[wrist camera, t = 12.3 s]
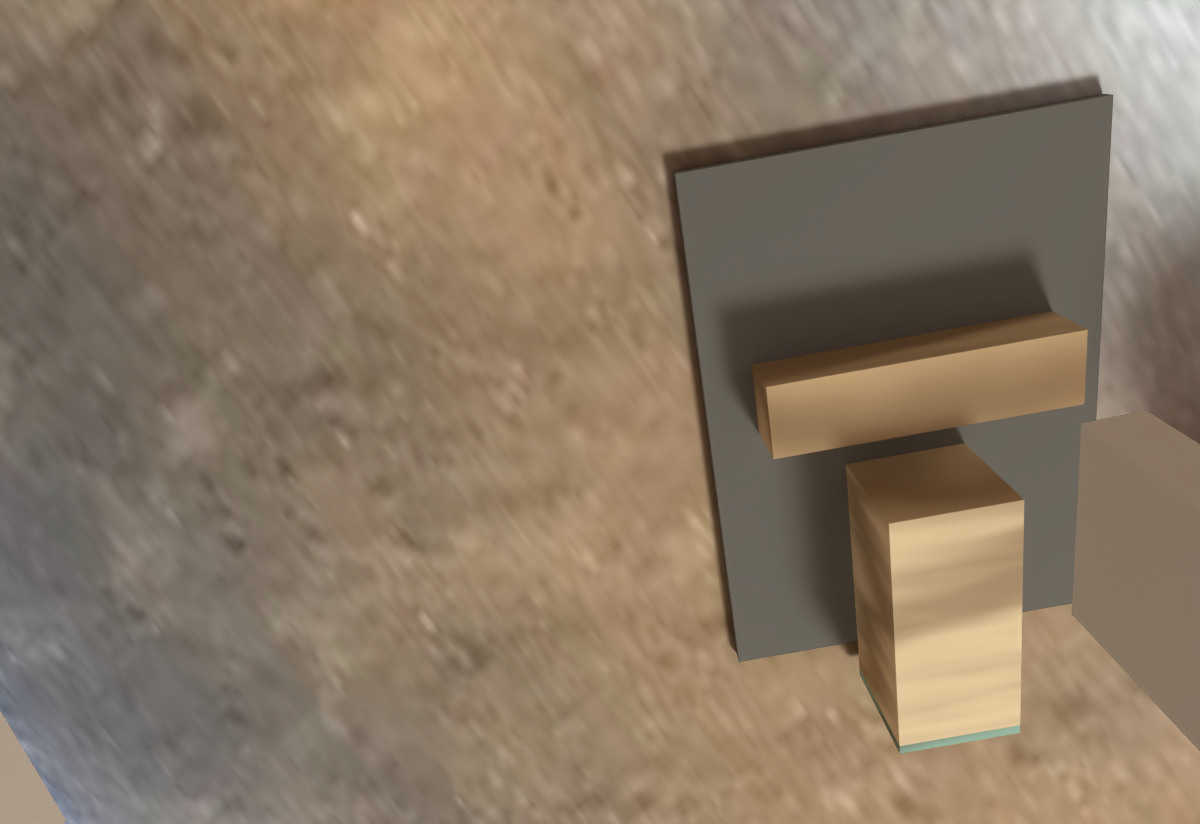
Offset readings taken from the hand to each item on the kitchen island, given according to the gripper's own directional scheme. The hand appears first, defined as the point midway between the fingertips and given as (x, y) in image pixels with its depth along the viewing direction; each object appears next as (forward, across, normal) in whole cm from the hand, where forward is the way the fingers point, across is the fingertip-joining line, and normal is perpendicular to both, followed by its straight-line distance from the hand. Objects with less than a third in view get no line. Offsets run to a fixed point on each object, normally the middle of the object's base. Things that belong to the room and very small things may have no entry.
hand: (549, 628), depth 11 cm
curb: (+24, +14, -9) cm, 29 cm away
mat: (+24, +14, -11) cm, 30 cm away
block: (+21, +13, -12) cm, 28 cm away
